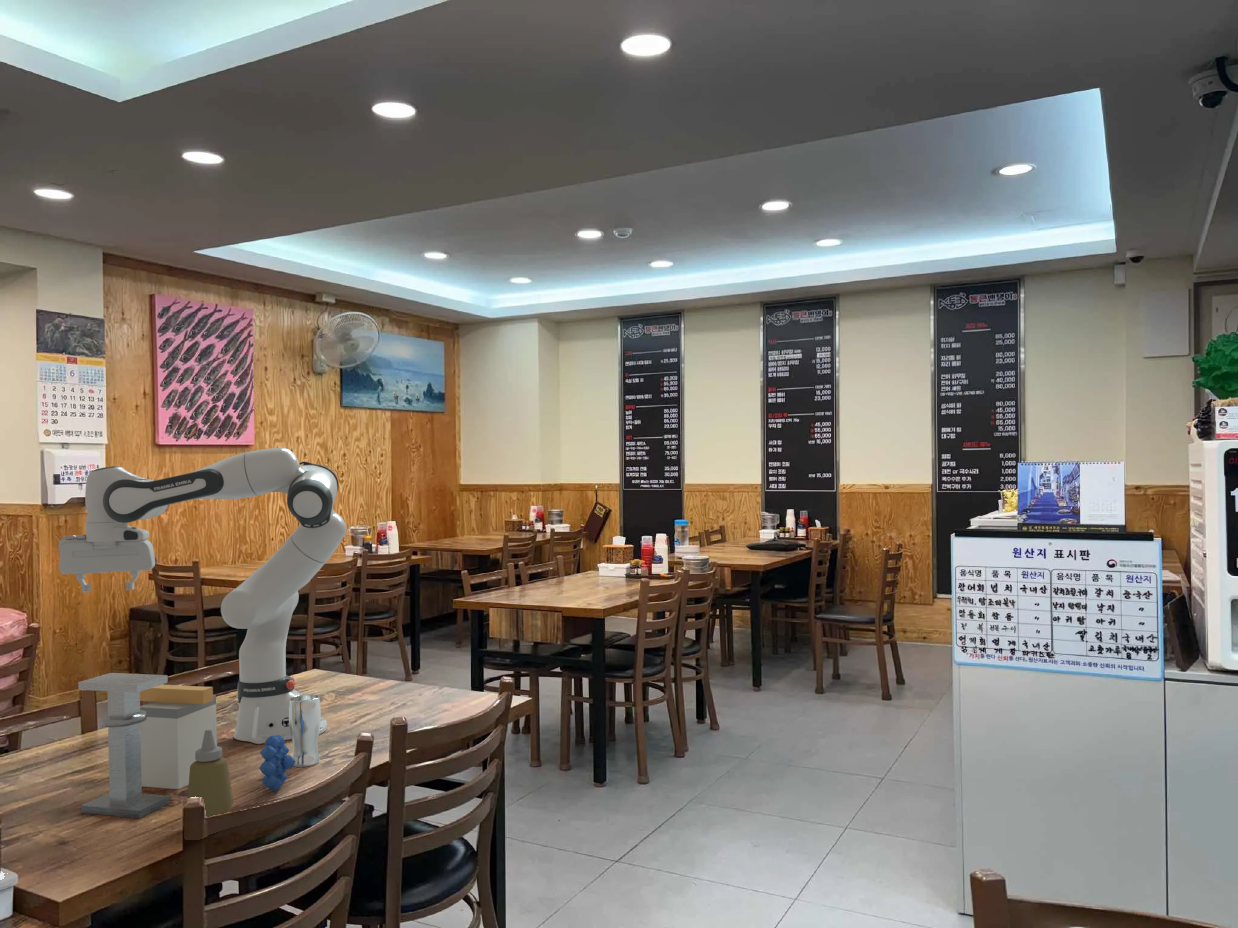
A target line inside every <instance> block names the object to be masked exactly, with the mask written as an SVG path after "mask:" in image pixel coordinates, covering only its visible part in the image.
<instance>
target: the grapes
mask: <svg viewBox="0 0 1238 928" xmlns="http://www.w3.org/2000/svg"><path fill="white" fill-rule="evenodd" d="M286 741H287V740H284V738H283V737H282V736H280V735H276V736H274V735H272V736H270V737H268V738H267V740H266V741H265V743H264V745H265V746H264V747H263V748H261V751H260V752H259V753H260V756H261V758H263V759H264V761H263V762H262V763H261V764H260V766H259V767H258V769H259V770H260V772H261V773H262V775H264V776H263V777H262V779H261V782H262V784H263V785H264V786H265V787H266V788H268V789H269V790H270V791H271V792H277V791H278V790H280V788H281V787H282V786H283V784H284V783H285V782H286V780H287V779H288V776H287V774H286V771H287V770H290V769H291V768H293V767H294V766H293V765H294V764H295V760H294V759H293V755H290V754H288V753H289V752H290V750H289V748H288V746H287V745H286V743H287V742H286Z"/></svg>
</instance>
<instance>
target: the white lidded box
mask: <svg viewBox="0 0 1238 928" xmlns="http://www.w3.org/2000/svg"><path fill="white" fill-rule="evenodd" d="M140 710H143V711H146V712H147V719H146V720H145V721H143V722H141V723H140V728H141V777H142V787H143V788H144V787H147V788H160V789H169V790H181V789H182V788H184V787H186V786H188V785H189V773H190V766H191V764H192V763H193V762H195V761H196V760H195V752H196V750H198V749H200V748H202V743H203V738H204V733H205V730H212V733H213V737H214V741H215V744H216V746H218V734H217V731H218V730H217V729H218V728H217V727H218V726H217V722H218V721H217V694H213V701H211V702H208V703H206V704H188V703H170V702H151V701H150V702H149V703H146V704H143V705H140Z"/></svg>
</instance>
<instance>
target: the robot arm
mask: <svg viewBox="0 0 1238 928" xmlns="http://www.w3.org/2000/svg"><path fill="white" fill-rule="evenodd" d="M339 485H340V484H339V479H338V476H337V475H336V473H335V472H334V471H333V470H332V469H331V467H330V468H329V467H328V466H326V465H324V464H316V463H312V462H308V461H301V462H299V460H298V457H297V455H296V454H295V453H294V452H293V451H292V450H290V448H289V449H288V448H286V447H273V448H272V447H271V448H262V449H257V450H252V451H247V452H242V453H239V454H236V455H233V456H229V457H227V458H224V459H221V460H219V461H216V462H215V463H211V464H209V465H207V466H204V467H202V468H199V469H197V470H194V471H190V472H187V473H183V474H178V475H175V476H170V477H169V476H168V477H165V478H161V479H156V480H153V479H150V478H146V477H142V476H139V475H137V474H134V473H132V472H130V471H129V470H126V469H125V468H124V467H123V466H119V465H117V466H116V465H115V466H105V467H101V468H96V469H94V470H91V471H90V472H89V473H88V475H87V477H86V483H85V490H84V491H85V494H84V498H85V499H84V500H85V501H84V505H85V507H86V508H85V509H86V511H87V512H86V513H87V514H86V515H87V516H86V517H85V534H76V535H71V534H68V535H65V536H63V537H62V538H60V540H59V541H58V552H59V554H60V555H59V561H58V571H59V572H60V573H61V575H75V580H77V582H78V583H79V585H80V586H81V593H90V592H92V589H91V587H92V584H91V583H89V584H88V583H87V582H86V580H85V579H84V578H86V574H99V573H101V574H103V573H120V572H121V573H122V572H130V576H132V577H131V579H130V581H129V582H125V591H133V590H135V582H136V580H137V579H138V578H139V576H140V571H142V572H143V571H151V570H152V569H154V568H155V565H156V558H155V549H154V546H153V544H152V542H151V541H150V540H149V538H150V531H148V530H146V529H144V528H139V527H134V526H131V525H129V523H132V522H136V521H141V520H147V519H154V518H157V517H159V516H161V515H162V514H164V513H165V512H166V511H167V510H168V508H169V506H171V505H173V504H174V505H175V504H179V503H182V502H183V503H184V502H187V501H188V502H189V501H191V500H193V501H194V500H202V499H203V500H208V499H209V500H211V499H213V500H214V499H215V500H238V499H239V500H240V499H248V498H254V497H258V496H261V495H266V494H268V493H283V494H286V503H287V504H286V505H287V508H288V510H289V512H290V514H291V515H292V516H293V517H294V518H295V519H296V520H297V521H298V522H299V523H300V524H299V525H298V527H297V528H296V529H295V530H294V532H292V533H291V535H289V537H288V538H287V540H286V541H284V543H282V545H281V546H280V548H278V550H277V551H276V552H275V553H274V554H273V555H272V556H270V558H269V559H268V560H267V561H265V563H263V564H262V565H260V566H259V568H257V569H256V570H255V571H254V572H252V573H251V574H250V575H249V576H248V577H247V578H246V579H245V580H244V581H243V582H242V583H241V584H239V585H238V586H237V587H236V588H234V589H233V590H231V591H230V592H228V593H227V594H226V595H225V596H224V598H223V600H222V602H221V605H220V613H221V617H222V618H223V621H224V622H225V623H226V624H227V625H228V626H230V627H231V628H235V629H242V630H246V629H247V630H246V635H245V638H244V640H243V642H242V644H241V645H240V647H239V650H238V661H239V663H238V665H239V666H238V667H239V679H238V681H237V701H238V713H237V721H236V726H235V731H234V734H233V738H234V739H235V740H237V741H241V742H250V743H253V744H258V745H261V744H265V741H266V740H267V738H268V737H270V736H272V735H274V736H276V735H280V736H282V737H283V738H284V740H285V741H287V740H292V737H291V732H290V727H289V699H290V698H291V697H294V696H297V695H303V693H301V692H299V691H297V690H296V689H295V687H296V686H295V685H296V682H295V678H294V676H293V675H292V676H290V675H287V673H286V672H287V669H286V668H287V662H286V658H287V657H286V654H287V653H286V650H287V649H286V647H287V639H288V634H289V630H290V625H291V620H292V616H293V613H294V611H295V609H296V607H297V605H298V604H299V598H300V597H299V596H300V595H299V592H298V591H300V590H301V589H302V588H303V587H305V586H306V585H307V584H308V583H309V582H311V580H312V579H313V578H314V577H315V576H316V575H317V573H318V572H319V571H320V570H321V569H322V567H324V565H325V564H326V563H327V561H328V560H329V559H330V558H331V557H332V556H333V554H335V552H336V550H338V547H339V546H340V545H341V543H342V541H343V540H344V538H345V536H346V534H347V529H348V528H347V525H346V521H345V520H344V519H343V518H342V516H341V515H340V514H338V512H336V511H335V510H334V505H335V502H336V498H337V495H338V492H339ZM327 729H328V722H327V719H326V718H323V717H321V722H320V730H319V735H321V734H323V733H324V732H325V731H326V730H327Z"/></svg>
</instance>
